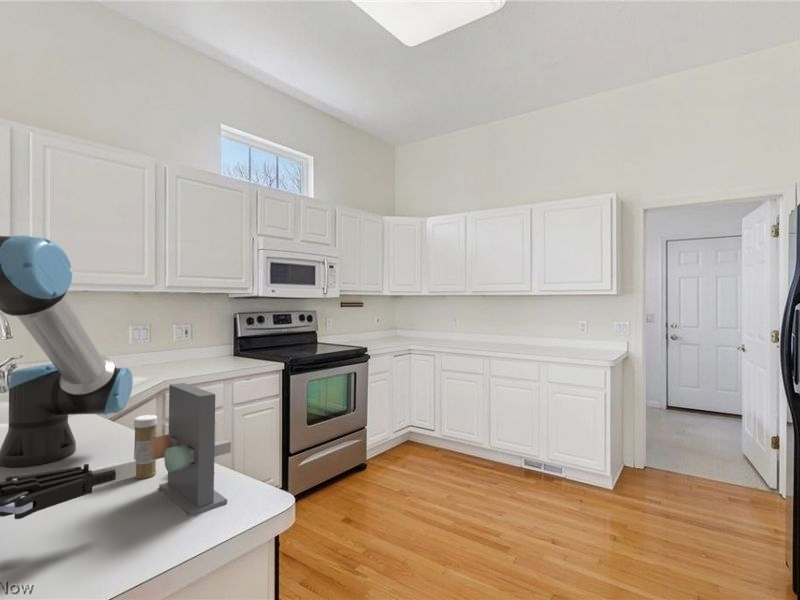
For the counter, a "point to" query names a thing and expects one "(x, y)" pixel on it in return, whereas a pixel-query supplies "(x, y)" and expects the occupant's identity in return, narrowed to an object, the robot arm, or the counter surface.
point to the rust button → (160, 446)
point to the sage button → (190, 455)
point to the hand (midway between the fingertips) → (134, 467)
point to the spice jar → (144, 445)
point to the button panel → (194, 430)
